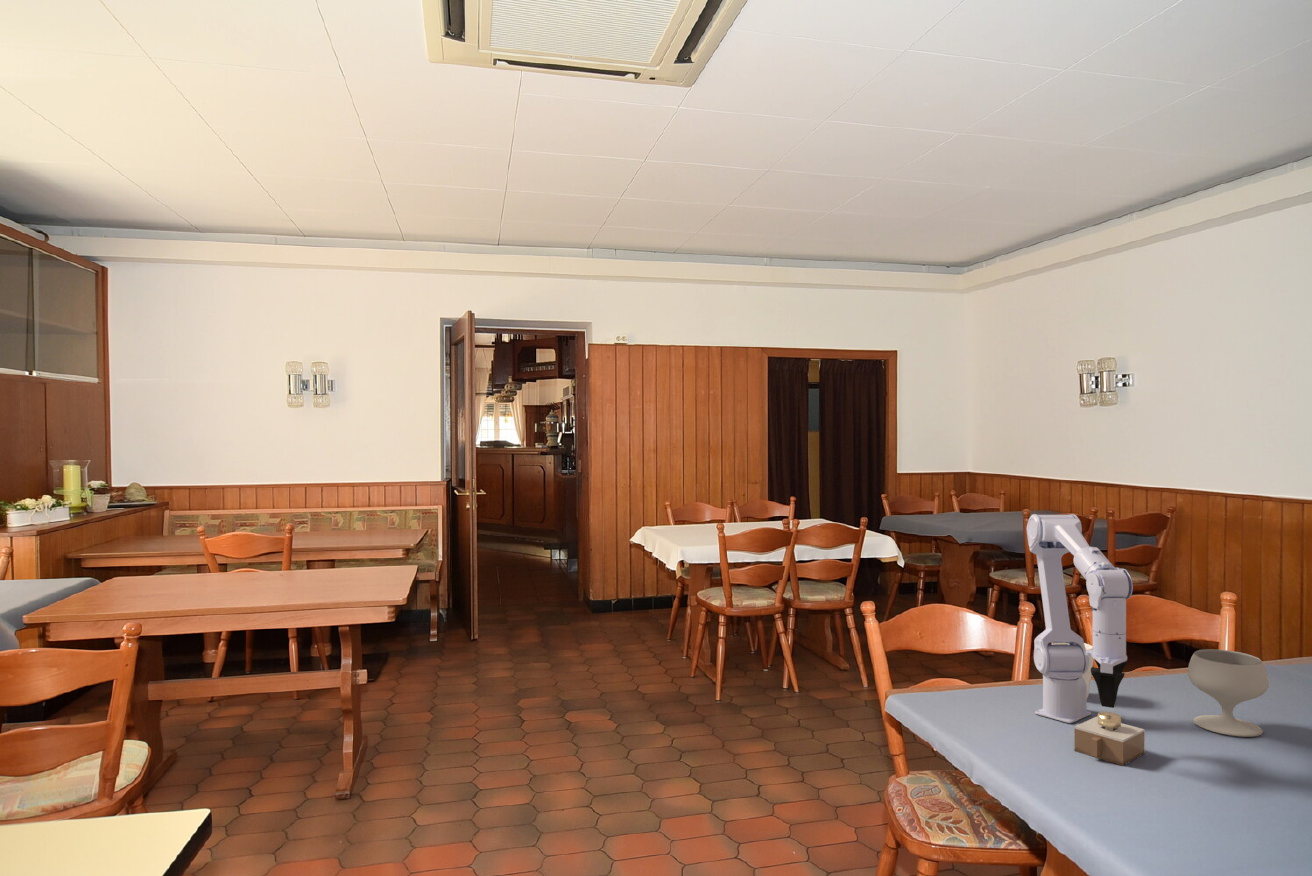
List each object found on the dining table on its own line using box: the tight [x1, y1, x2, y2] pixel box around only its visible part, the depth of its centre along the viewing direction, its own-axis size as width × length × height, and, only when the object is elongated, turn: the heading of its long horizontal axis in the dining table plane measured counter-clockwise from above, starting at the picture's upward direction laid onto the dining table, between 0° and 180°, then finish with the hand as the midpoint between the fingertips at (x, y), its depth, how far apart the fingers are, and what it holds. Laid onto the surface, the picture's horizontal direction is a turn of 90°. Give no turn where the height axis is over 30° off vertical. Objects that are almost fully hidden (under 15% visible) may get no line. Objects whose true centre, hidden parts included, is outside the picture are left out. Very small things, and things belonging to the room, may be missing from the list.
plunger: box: [1097, 711, 1122, 731], centre depth 160 cm, size 4×4×6 cm
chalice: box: [1187, 648, 1270, 738], centre depth 172 cm, size 14×14×15 cm
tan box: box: [1074, 716, 1145, 766], centre depth 159 cm, size 11×9×5 cm
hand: (1109, 700), depth 160 cm, fingers open, 7 cm apart
